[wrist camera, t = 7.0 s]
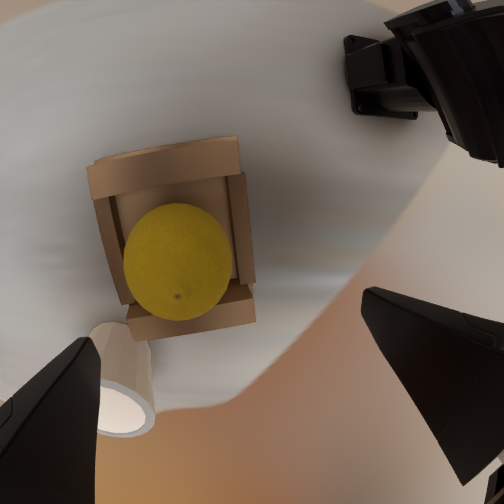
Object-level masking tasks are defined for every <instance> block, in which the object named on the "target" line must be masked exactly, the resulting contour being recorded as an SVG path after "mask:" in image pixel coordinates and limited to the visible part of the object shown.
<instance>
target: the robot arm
mask: <svg viewBox="0 0 504 504" xmlns="http://www.w3.org/2000/svg"><path fill="white" fill-rule="evenodd" d="M384 24H385V25H386V27H387V28H388V30H391V31H392V33H393V34H394V36H395V37H392V38H389V39H386V40H383V41H378V40H373V39H369V38H364V37H359V36H354V35H349V36H347V37H345V39H344V42H345V49H346V64H347V71H348V80H349V86H350V88H351V98H352V109H353V111H354V113H355V114H357V115H367V116H380V117H391V118H401V119H409V120H416V119H417V117H418V111H438V114H439V116H440V118H441V120H442V122H443V125H444V127H445V129H446V135H447V138H448V140H449V141H451V142H453V143H454V144H457V145H458V146H460V147H462V148H463V149H465V150H466V151H468V152H469V155H470V156H471V157H472V158H475V159H478V160H482V161H488V162H491V163H498V166H499V168H504V0H486V1H482V2H477V3H473V4H472V2H471V0H434V1H431V2H429V3H426V4H423V5H420V6H418V7H416V8H413V9H411V10H409V11H407V12H405V13H402V14H400V15H398V16H396V17H394V18H392V19H390V20H388V21H386V22H384ZM350 39H351V40H352V41H353V43H351V42H350ZM358 106H360V108H361V111H359V110H358ZM412 113H413V116H412ZM361 314H362V317H363V319H364V321H365V323H366V324H367V326H368V328H369V330H370V332H371V333H372V336H373V338H374V339H375V342H376V343H377V345H378V347H379V349H380V350H381V352H382V354H383V355H384V357H385V358H386V360H387V361H388V363H389V364H390V366H391V367H392V369H393V370H394V372H395V373H396V375H397V376H398V378H399V380H400V381H401V383H402V384H403V386H404V387H405V389H406V390H407V392H408V394H409V395H410V397H411V398H412V400H413V402H414V403H415V405H416V406H417V408H418V410H419V411H420V413H421V415H422V416H423V418H424V419H425V421H426V423H427V425H428V426H429V428H430V430H431V431H432V433H433V435H434V436H435V438H436V440H438V443H439V445H440V447H441V449H442V450H443V452H444V454H445V455H446V457H447V459H448V461H449V463H450V464H451V466H452V468H453V470H454V471H455V473H456V475H457V477H458V479H459V481H460V483H461V484H462V486H464V485H465V484H467V483H468V482H469V481H471V480H472V479H473V478H474V477H475V476H476V475H478V474H479V473H480V472H481V471H482V470H483V469H484V468H486V467H487V466H488V465H489V464H490V463H491V462H492V461H493V460H494V459H495V458H496V457H498V458H499V459H500V461H501V462H502V463H503V464H502V465H501V466H500V467H499V468H498V469H497V470H496V471H495V472H494V473H493V474H491V475H490V477H489V481H488V486H487V492H486V497H485V502H484V504H504V323H501V322H497V321H492V320H488V319H484V318H480V317H477V316H473V315H469V314H466V313H461V312H459V311H456V310H453V309H449V308H446V307H442V306H439V305H436V304H432V303H429V302H426V301H423V300H419V299H415V298H412V297H409V296H406V295H402V294H399V293H395V292H392V291H389V290H385V289H382V288H378V287H371V288H366V289H365V290H364V291H363V297H362V304H361ZM100 384H101V358H100V355H99V353H98V351H97V349H96V347H95V345H94V342H93V340H92V339H91V338H90V337H80V338H78V339H76V340H75V341H74V342H73V343H72V344H71V345H69V346H68V347H67V348H66V349H65V350H63V351H62V352H61V353H60V354H59V355H58V356H56V357H55V358H54V359H53V360H52V361H51V362H50V363H48V364H47V365H46V366H45V367H44V368H43V369H42V370H40V371H39V372H38V373H37V374H36V375H35V376H34V377H33V378H31V379H30V380H29V381H28V382H27V383H26V384H25V385H24V386H22V387H21V388H20V389H19V390H18V391H17V392H16V393H15V394H14V395H13V397H10V398H9V399H8V400H7V401H6V402H5V403H4V404H3V405H2V406H1V407H0V504H95V456H96V440H97V428H98V417H99V408H100Z"/></svg>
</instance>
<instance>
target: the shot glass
mask: <svg viewBox="0 0 504 504" xmlns="http://www.w3.org/2000/svg"><path fill="white" fill-rule="evenodd" d="M88 337H90V338H91V339H92V340H93V342H94V345H95V347H96V349H97V351H98V353H99V355H100V358H101V384H100V408H99V417H98V428H97V433H99V434H103V435H108V436H112V437H134V436H138V435H141V434H144V433H146V432H147V431H148V430H149V429H150V428H151V427H152V426H154V420H155V407H154V396H153V383H152V367H151V350H150V347H149V344H148V341H147V340H145V341H137V342H134V340H133V337H132V334H131V332H130V329H129V327H128V325H126V324H122V323H118V322H107V323H101V324H100V325H98V326H96V327H94V328H93V329H92V331H91V333H90V334H89V336H88Z"/></svg>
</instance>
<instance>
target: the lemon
mask: <svg viewBox="0 0 504 504" xmlns="http://www.w3.org/2000/svg"><path fill="white" fill-rule="evenodd" d="M123 268H124V273H125V278H126V282H127V285H128V287H129V289H130V291H131V293H132V295H133V297H134V298H135V299H136V301H137V302H138V303H139V304H140V305H141V306H142V307H143V308H144V309H146V310H147V311H149V312H150V313H152V314H153V315H155V316H158V317H161V318H163V319H167V320H174V321H181V320H189V319H192V318H196V317H199V316H201V315H202V314H204V313H206V312H208V311H209V310H211V309H212V308H213V307H214V306H215V305H216V304H217V303H218V302H219V300H220V299H221V297H222V296H223V294H224V293H225V291H226V289H227V286H228V283H229V280H230V277H231V272H232V253H231V249H230V244H229V240H228V238H227V236H226V234H225V232H224V230H223V228H222V227H221V225H220V224H219V223H218V222H217V221H216V220H215V219H214V218H213V216H212V215H210V214H209V213H207V212H205V211H204V210H202V209H201V208H199V207H196V206H193V205H190V204H183V203H172V204H167V205H162V206H159V207H157V208H155V209H153V210H151V211H149V212H148V213H147V214H145V215H144V216H143V217H142V218H141V219H140V220H139V221H138V222H137V223H136V225H135V226H134V228H133V229H132V231H131V232H130V234H129V236H128V239H127V242H126V246H125V249H124V262H123Z"/></svg>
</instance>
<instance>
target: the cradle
mask: <svg viewBox="0 0 504 504" xmlns="http://www.w3.org/2000/svg"><path fill="white" fill-rule="evenodd" d="M94 163H95V165H92V166H89V167H86V169H87V175H88V181H89V186H90V192H91V197H92V200H93V203H94V207H95V212H96V217H97V221H98V225H99V230H100V234H101V238H102V242H103V245H104V249H105V253H106V257H107V260H108V264H109V267H110V271H111V274H112V277H113V280H114V284H115V287H116V290H117V293H118V296H119V299H120V302H121V305H125V304H129V309H128V313H127V317H126V321H127V324H128V327H129V329H130V332H131V334H132V337H133V340H134V342H137V341H145V340H152V339H160V338H167V337H173V336H180V335H186V334H192V333H198V332H204V331H210V330H216V329H221V328H227V327H232V326H237V325H242V324H247V323H252V322H256V317H255V307H254V298H253V289H252V283H256V281H255V270H254V260H253V250H252V240H251V229H250V219H249V209H248V199H247V189H246V178H245V173H243V172H241V171H240V161H239V151H238V141H237V136H230V137H221V138H212V139H205V140H197V141H190V142H184V143H178V144H172V145H166V146H160V147H155V148H149V149H144V150H139V151H134V152H130V153H125V154H121V155H116V156H112V157H108V158H104V159H100V160H96V161H94ZM172 203H183V204H190V205H193V206H196V207H199V208H201V209H202V210H204V211H205V212H207V213H209V214H210V215H212V216H213V218H214V219H215V220H216V221H217V222H218V223H219V224H220V225H221V227H222V228H223V230H224V232H225V234H226V236H227V238H228V240H229V244H230V249H231V253H232V272H231V277H230V280H229V283H228V286H227V289H226V291H225V293H224V294H223V296H222V297H221V299H220V300H219V302H218V303H217V304H216V305H215V306H214V307H213V308H212V309H211V310H209V311H208V312H206V313H204V314H202V315H201V316H199V317H196V318H192V319H189V320H181V321H174V320H167V319H163V318H161V317H158V316H155V315H153V314H152V313H150V312H149V311H147V310H146V309H144V308H143V307H142V306H141V305H140V304H139V303H138V302H137V301H136V299H135V298H134V297H133V295H132V293H131V291H130V289H129V287H128V285H127V282H126V278H125V273H124V268H123V262H124V249H125V246H126V242H127V239H128V236H129V234H130V232H131V231H132V229H133V228H134V226H135V225H136V223H137V222H138V221H139V220H140V219H141V218H142V217H143V216H144V215H145V214H147V213H148V212H149V211H151V210H153V209H155V208H157V207H159V206H162V205H167V204H172Z"/></svg>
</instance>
